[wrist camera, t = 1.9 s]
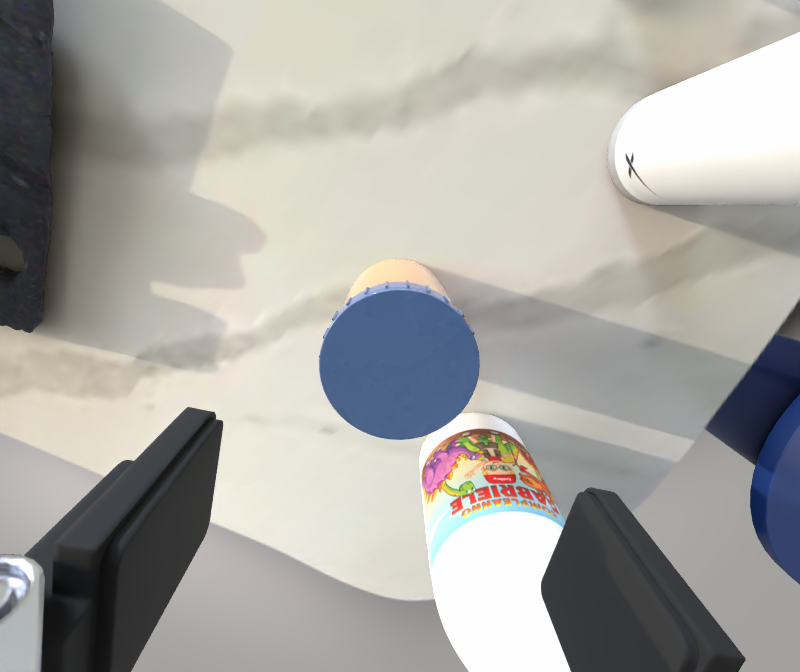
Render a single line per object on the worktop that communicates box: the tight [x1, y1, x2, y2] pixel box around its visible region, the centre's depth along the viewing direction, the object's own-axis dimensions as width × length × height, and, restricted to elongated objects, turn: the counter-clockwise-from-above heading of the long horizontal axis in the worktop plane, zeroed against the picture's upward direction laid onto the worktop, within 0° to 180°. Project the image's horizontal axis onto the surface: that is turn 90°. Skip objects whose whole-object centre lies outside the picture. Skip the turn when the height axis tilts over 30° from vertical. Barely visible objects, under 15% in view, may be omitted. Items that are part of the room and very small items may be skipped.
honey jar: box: [342, 259, 453, 307], centre depth 24 cm, size 7×7×11 cm
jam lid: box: [319, 280, 480, 440], centre depth 19 cm, size 7×7×2 cm
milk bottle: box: [420, 412, 571, 672], centre depth 23 cm, size 8×8×20 cm
